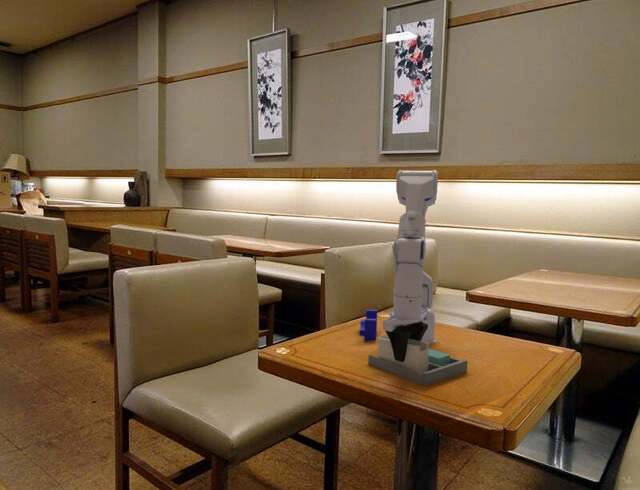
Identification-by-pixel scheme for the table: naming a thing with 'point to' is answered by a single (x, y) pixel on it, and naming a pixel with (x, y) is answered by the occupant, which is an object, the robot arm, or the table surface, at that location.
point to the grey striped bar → (414, 354)
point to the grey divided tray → (426, 378)
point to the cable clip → (369, 325)
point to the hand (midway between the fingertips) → (405, 358)
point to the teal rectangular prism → (438, 358)
